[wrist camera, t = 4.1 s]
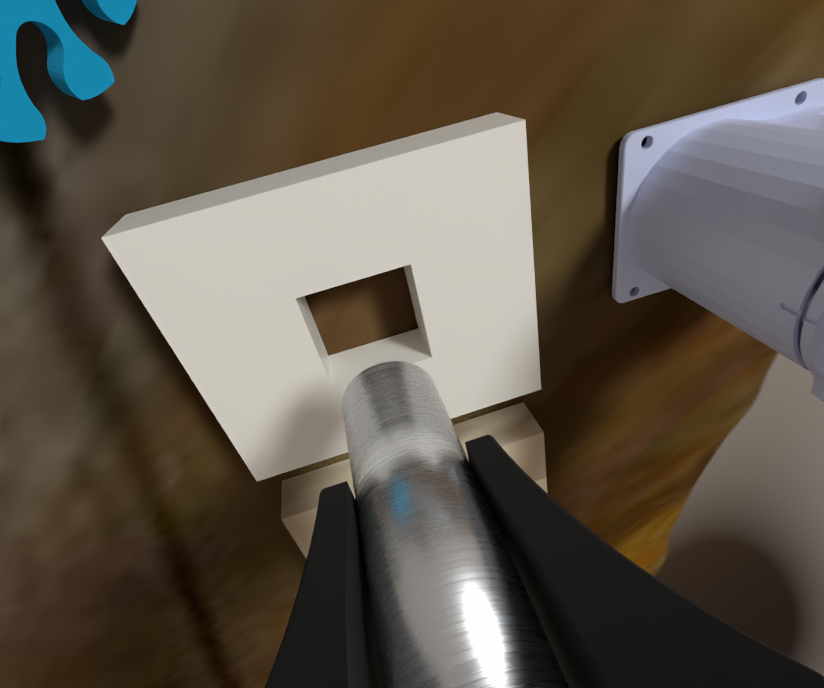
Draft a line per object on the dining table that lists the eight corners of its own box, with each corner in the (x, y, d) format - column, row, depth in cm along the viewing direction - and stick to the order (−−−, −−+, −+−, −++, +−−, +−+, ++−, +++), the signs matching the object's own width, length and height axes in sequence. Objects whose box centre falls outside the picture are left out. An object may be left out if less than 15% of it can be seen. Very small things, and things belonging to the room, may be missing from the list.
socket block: (496, 112, 17) (525, 119, 15) (519, 360, 24) (541, 389, 22) (125, 214, 16) (101, 238, 14) (259, 443, 23) (256, 481, 21)
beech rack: (523, 401, 25) (543, 432, 23) (534, 524, 32) (551, 555, 30) (281, 480, 24) (281, 519, 22) (345, 589, 31) (349, 626, 29)
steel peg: (426, 348, 13) (595, 710, 6) (443, 419, 15) (591, 770, 8) (328, 379, 13) (379, 793, 6) (357, 447, 15) (423, 836, 7)
